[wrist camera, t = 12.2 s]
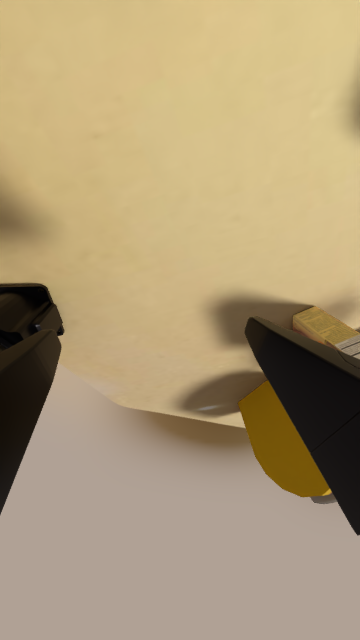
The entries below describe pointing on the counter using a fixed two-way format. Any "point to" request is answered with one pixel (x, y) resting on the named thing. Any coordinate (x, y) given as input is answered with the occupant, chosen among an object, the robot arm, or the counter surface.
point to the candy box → (327, 331)
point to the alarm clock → (281, 446)
